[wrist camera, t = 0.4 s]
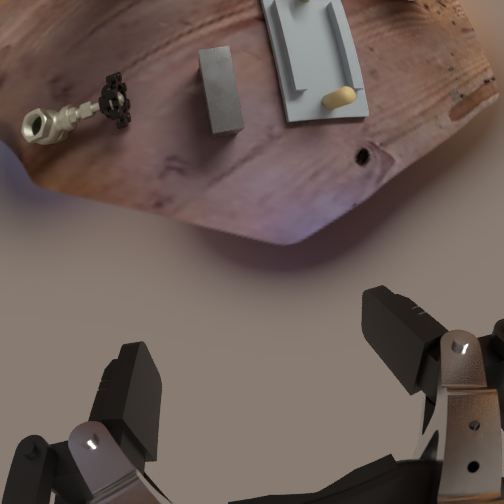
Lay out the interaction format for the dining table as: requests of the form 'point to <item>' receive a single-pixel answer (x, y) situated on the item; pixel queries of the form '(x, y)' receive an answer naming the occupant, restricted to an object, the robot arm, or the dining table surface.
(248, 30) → the dining table surface
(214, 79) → the gray rectangular block
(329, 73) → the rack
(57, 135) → the valve
